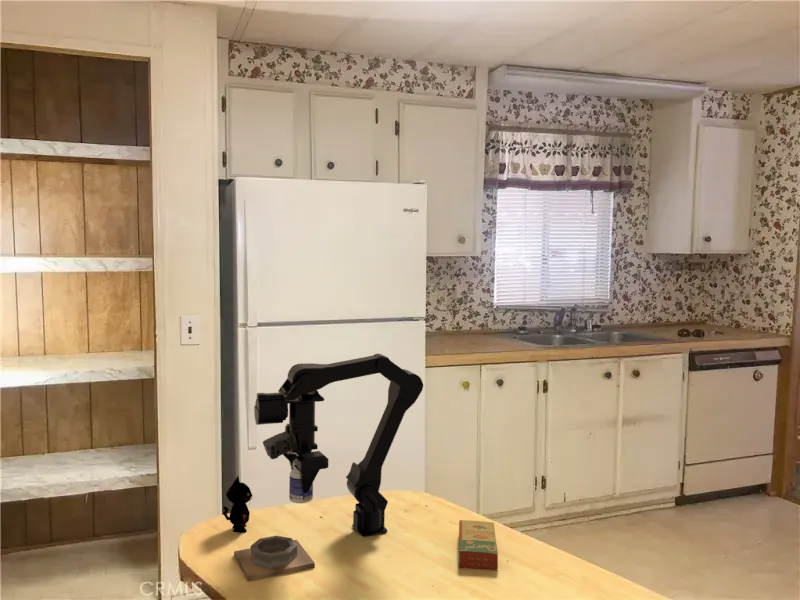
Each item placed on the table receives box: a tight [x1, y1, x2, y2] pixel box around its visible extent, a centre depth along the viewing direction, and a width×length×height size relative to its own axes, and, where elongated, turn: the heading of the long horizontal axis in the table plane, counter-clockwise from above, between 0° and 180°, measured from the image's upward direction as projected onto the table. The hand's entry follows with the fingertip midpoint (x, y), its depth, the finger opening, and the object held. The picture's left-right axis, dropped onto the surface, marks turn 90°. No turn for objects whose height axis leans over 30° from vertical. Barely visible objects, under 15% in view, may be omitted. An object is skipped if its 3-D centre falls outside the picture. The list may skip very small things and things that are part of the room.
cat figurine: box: [222, 475, 253, 534], centre depth 158 cm, size 7×7×12 cm
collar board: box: [233, 535, 316, 582], centre depth 143 cm, size 14×12×4 cm
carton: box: [457, 519, 499, 571], centre depth 149 cm, size 8×16×4 cm, turn 175°
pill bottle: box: [288, 460, 314, 504], centre depth 152 cm, size 5×5×9 cm
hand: (301, 488), depth 153 cm, fingers closed on pill bottle, 5 cm apart
